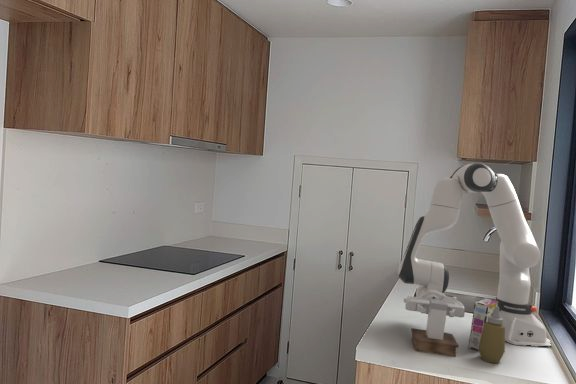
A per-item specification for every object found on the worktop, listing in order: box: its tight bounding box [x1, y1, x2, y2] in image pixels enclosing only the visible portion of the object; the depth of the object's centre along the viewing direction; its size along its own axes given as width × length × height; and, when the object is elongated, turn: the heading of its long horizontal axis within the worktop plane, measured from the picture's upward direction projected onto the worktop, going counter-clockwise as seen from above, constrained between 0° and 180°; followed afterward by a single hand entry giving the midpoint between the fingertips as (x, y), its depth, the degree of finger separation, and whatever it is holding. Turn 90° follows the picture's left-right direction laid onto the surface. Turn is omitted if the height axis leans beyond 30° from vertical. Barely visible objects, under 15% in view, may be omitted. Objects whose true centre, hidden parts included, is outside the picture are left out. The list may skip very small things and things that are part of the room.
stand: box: [411, 327, 459, 357], centre depth 180 cm, size 14×12×4 cm
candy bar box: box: [468, 298, 498, 352], centre depth 186 cm, size 11×5×16 cm, turn 141°
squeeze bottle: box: [479, 306, 506, 364], centre depth 173 cm, size 8×8×18 cm
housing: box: [425, 299, 448, 340], centre depth 179 cm, size 5×5×12 cm
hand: (437, 312), depth 178 cm, fingers open, 8 cm apart
